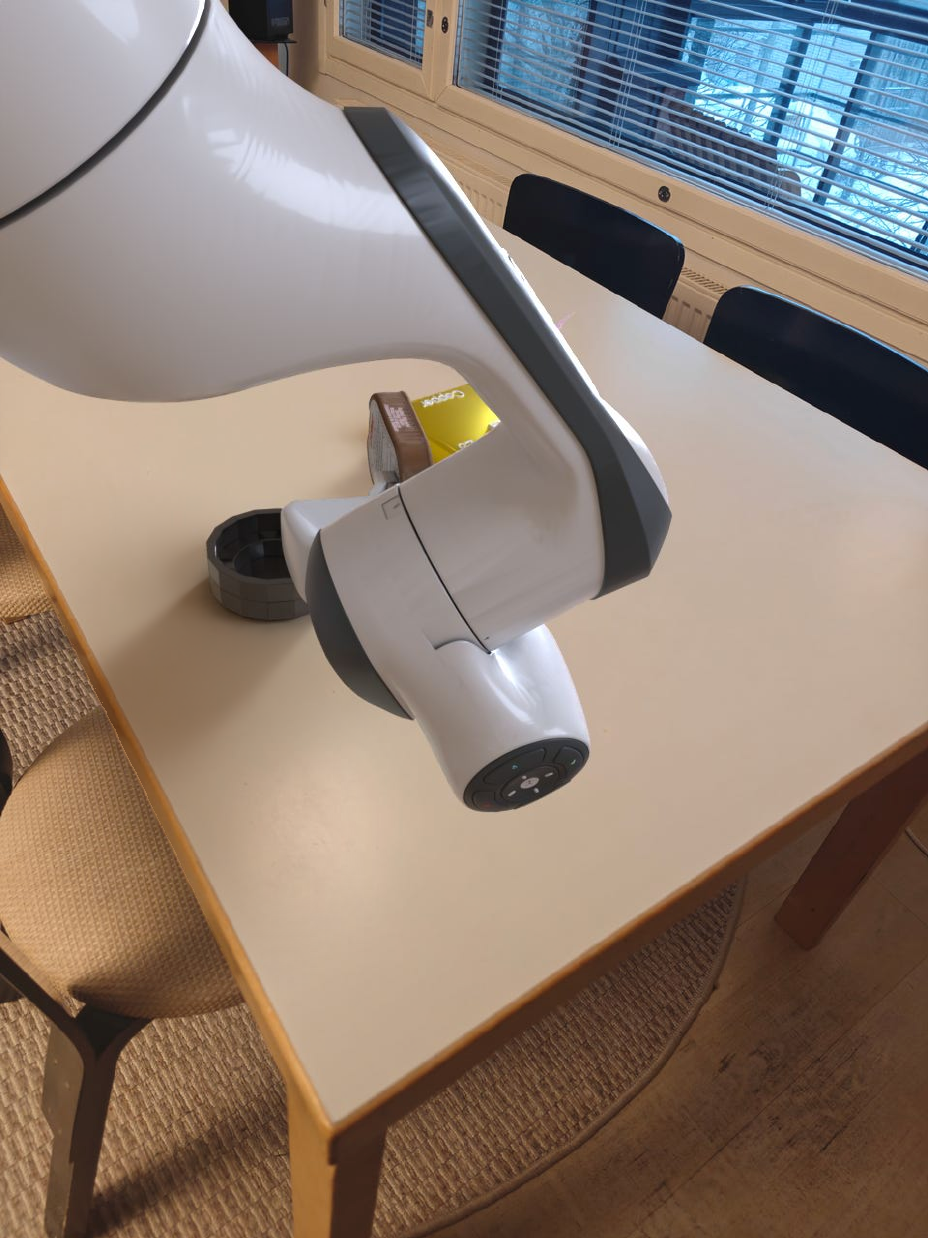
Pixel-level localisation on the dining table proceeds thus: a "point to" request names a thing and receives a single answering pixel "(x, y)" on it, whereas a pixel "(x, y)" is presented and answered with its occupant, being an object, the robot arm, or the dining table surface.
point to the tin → (396, 437)
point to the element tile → (453, 419)
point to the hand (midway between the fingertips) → (408, 477)
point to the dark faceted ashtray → (252, 567)
